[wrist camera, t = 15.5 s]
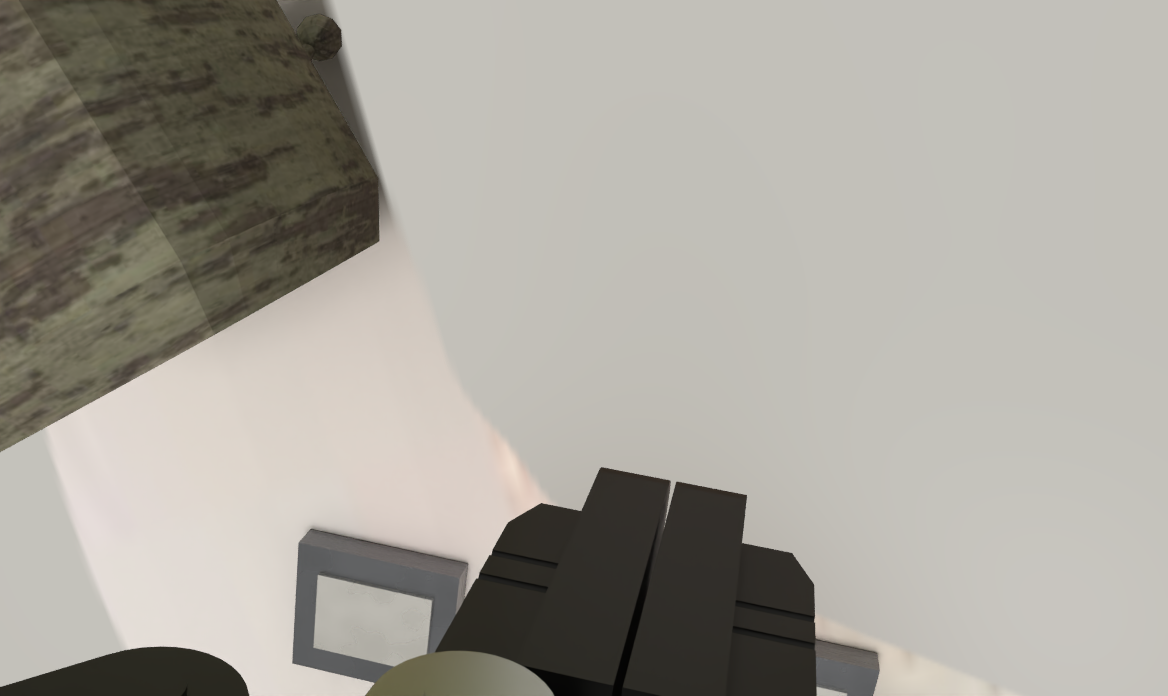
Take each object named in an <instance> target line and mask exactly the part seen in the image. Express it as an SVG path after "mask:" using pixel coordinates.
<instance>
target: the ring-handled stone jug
mask: <svg viewBox="0 0 1168 696" xmlns="http://www.w3.org/2000/svg"><path fill="white" fill-rule="evenodd" d="M341 47H342V38H341V29H340V28H339V27H338V25H337V24H336V23H335V22H334V20H333V19H331V18H329V17H326V16H324V15H321V14H317V15H312V16H308V17H306V18H305V19H304V20H303V21H302V23H301V24H300V26H299V27H298V28H297V36H296V34H295V32H294V30H293V29H292V27H291V25H290V23H289V22H288V20H287V18H286V16H285V15H284V13H283V11H282V9H281V8H280V6H279V4H278V2H277V1H276V0H0V452H1V451H3V450H5V449H6V448H8V447H10V446H12V445H14V444H16V443H18V442H19V441H21V440H23V439H25V438H27V437H29V436H30V435H32V434H34V433H36V432H38V431H40V430H42V429H43V428H45V427H47V426H49V425H51V424H53V423H54V422H56V421H58V420H60V419H62V418H63V417H65V416H67V415H69V414H71V413H73V412H74V411H76V410H78V409H80V408H82V407H84V406H85V405H87V404H89V403H91V402H93V401H95V400H96V399H98V398H100V397H102V396H104V395H106V394H107V393H109V392H111V391H113V390H115V389H117V388H118V387H120V386H122V385H124V384H126V383H127V382H129V381H131V380H133V379H135V378H137V377H138V376H140V375H142V374H144V373H146V372H148V371H149V370H151V369H153V368H155V367H157V366H159V365H160V364H162V363H164V362H166V361H168V360H169V359H171V358H173V357H175V356H177V355H179V354H180V353H182V352H184V351H186V350H188V349H189V348H191V347H193V346H195V345H197V344H198V343H200V342H202V341H204V340H206V339H208V338H209V337H211V336H213V335H215V334H217V333H218V332H220V331H222V330H224V329H226V328H227V327H229V326H231V325H233V324H234V323H236V322H238V321H240V320H242V319H243V318H245V317H247V316H249V315H250V314H252V313H254V312H256V311H258V310H259V309H261V308H263V307H265V306H266V305H268V304H270V303H272V302H274V301H275V300H277V299H279V298H281V297H282V296H284V295H286V294H288V293H289V292H291V291H293V290H295V289H296V288H298V287H300V286H302V285H304V284H305V283H307V282H309V281H311V280H312V279H314V278H316V277H318V276H319V275H321V274H323V273H325V272H326V271H328V270H330V269H332V268H333V267H335V266H337V265H339V264H340V263H342V262H344V261H346V260H347V259H349V258H351V257H353V256H354V255H356V254H358V253H360V252H361V251H363V250H365V249H367V248H368V247H370V246H372V245H374V244H375V243H377V242H379V202H378V177H377V175H376V174H375V172H374V170H373V168H372V167H371V165H370V163H369V161H368V160H367V158H366V156H365V154H364V153H363V151H362V149H361V148H360V146H359V144H358V142H357V141H356V139H355V137H354V135H353V134H352V132H351V130H350V128H349V127H348V125H347V123H346V121H345V120H344V118H343V116H342V114H341V113H340V111H339V109H338V107H337V106H336V104H335V102H334V100H333V99H332V97H331V95H330V93H329V92H328V90H327V88H326V86H325V85H324V83H323V81H322V79H321V78H320V76H319V74H318V72H317V71H316V69H315V67H314V65H313V64H312V62H311V60H312V59H315V60H318V61H322V60H327V59H331V58H333V57H334V56H335V54H336V53H337V52H338V50H339V49H340V48H341Z"/></svg>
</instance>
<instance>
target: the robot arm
mask: <svg viewBox="0 0 1168 696" xmlns="http://www.w3.org/2000/svg"><path fill="white" fill-rule="evenodd" d="M670 483H671V482H670V481H669V480H664V479H660V478H654V477H649V476H644V475H639V474H634V473H628V472H623V471H618V470H613V469H608V468H602V467H601V468H600V470H599V472H598V474H597V477H596V479H595V481H594V483H593V486H592V488H591V490H590V493H589V495H588V497H587V500H586V502H585V504H584V507H583V509H582V511H577V510H573V509H567V508H563V507H558V506H553V505H548V504H543V503H541V504H539V505H537V506H536V507H534V508H532V509H530V510H529V511H527V512H525V513H524V514H522V515H520V516H518V517H517V518H515V519H513V520H512V521H510V522H508V524H507V525H506V527H505V529H504V531H503V532H502V534H501V536H500V538H499V539H498V541H497V543H496V545H495V547H494V548H493V551H492V555H489V557H488V559H487V561H486V562H485V564H484V566H483V568H482V569H481V571H480V574H479V578H478V579H476V580H475V582H474V584H473V585H472V587H471V589H470V591H469V592H468V594H467V596H466V598H465V599H464V601H463V603H462V605H461V606H460V608H459V610H458V612H457V613H456V615H455V617H454V619H453V621H452V622H451V624H450V626H449V628H448V629H447V631H446V633H445V635H444V636H443V638H442V640H441V642H440V643H439V645H438V647H437V649H436V650H435V652H434V653H430V654H425V655H421V656H418V657H415V658H412V659H409V660H406V661H404V662H402V663H400V664H398V665H396V666H395V667H393V668H391V669H390V670H389V671H387V672H386V673H385V674H383V675H382V676H381V677H380V678H379V679H378V680H377V681H376V683H375V684H374V685H373V686H372V687H371V689H370V690H369V691H368V693H367V694H366V695H365V696H817V684H816V650H815V623H814V618H815V603H814V584H813V582H812V581H811V580H810V578H809V577H808V575H807V574H806V572H805V571H804V570H803V568H802V567H801V565H800V564H799V562H798V561H797V560H796V558H795V557H794V555H793V554H792V553H789V552H783V551H779V550H774V549H769V548H764V547H758V546H754V545H749V544H744V543H742V536H743V528H744V518H745V509H746V500H747V495H743V494H738V493H733V492H728V491H722V490H717V489H712V488H707V487H702V486H697V485H692V484H686V483H681V482H676V485H675V489H674V493H673V497H672V500H671V505H670V508H669V512H668V516H667V519H666V523H665V518H666V512H667V506H668V499H669V493H670ZM664 525H665V527H664ZM0 696H249V693H248V689H247V686H246V683H245V682H244V680H243V678H242V677H241V675H240V674H239V673H238V672H237V671H236V670H235V669H234V668H233V667H232V666H231V665H229V664H227V663H226V662H224V661H223V660H221V659H219V658H217V657H215V656H212V655H210V654H207V653H204V652H200V651H196V650H192V649H185V648H178V647H146V648H137V649H131V650H124V651H120V652H116V653H112V654H109V655H105V656H102V657H99V658H95V659H92V660H88V661H85V662H82V663H78V664H75V665H72V666H69V667H66V668H62V669H59V670H56V671H52V672H49V673H45V674H42V675H39V676H36V677H32V678H29V679H26V680H23V681H19V682H16V683H12V684H9V685H6V686H3V687H0Z"/></svg>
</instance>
